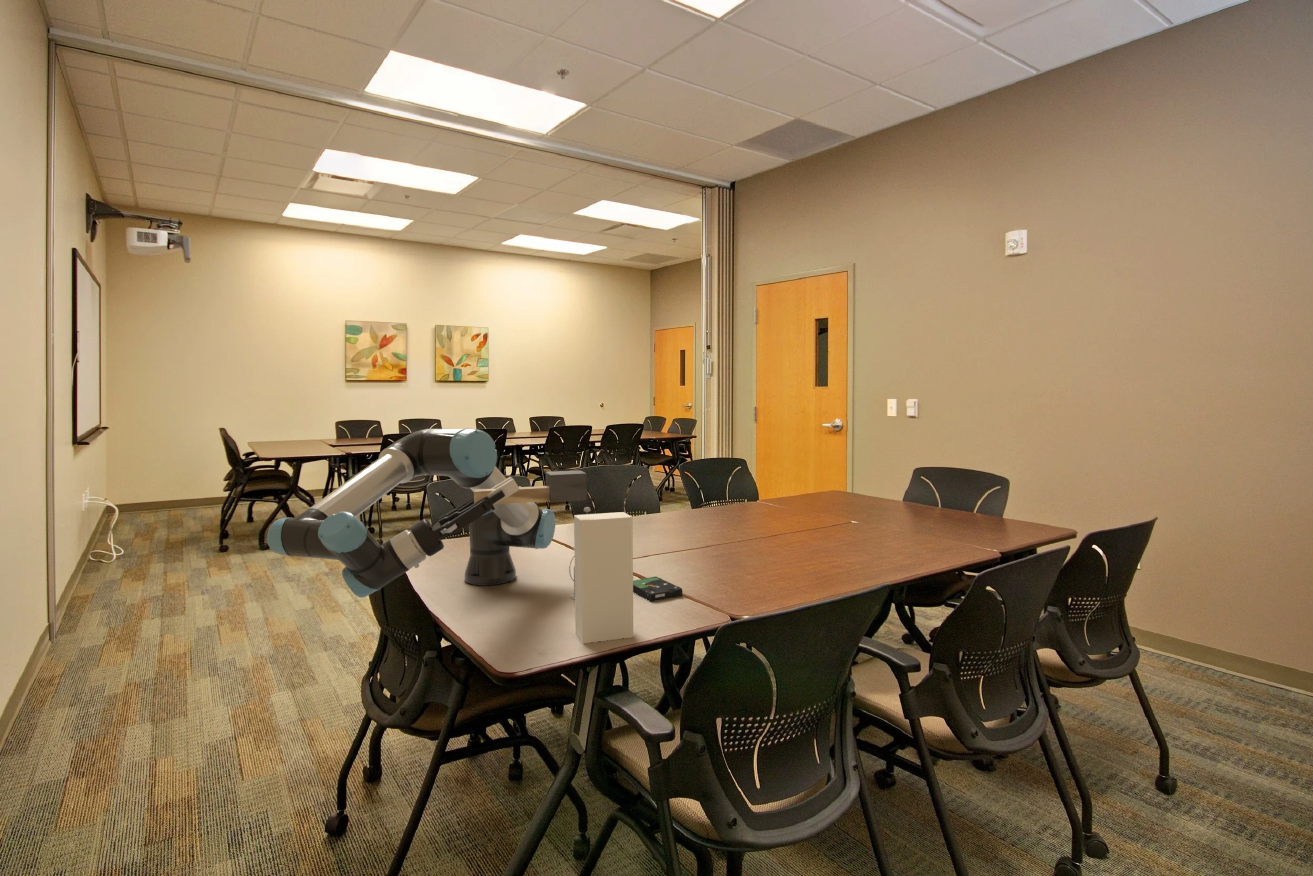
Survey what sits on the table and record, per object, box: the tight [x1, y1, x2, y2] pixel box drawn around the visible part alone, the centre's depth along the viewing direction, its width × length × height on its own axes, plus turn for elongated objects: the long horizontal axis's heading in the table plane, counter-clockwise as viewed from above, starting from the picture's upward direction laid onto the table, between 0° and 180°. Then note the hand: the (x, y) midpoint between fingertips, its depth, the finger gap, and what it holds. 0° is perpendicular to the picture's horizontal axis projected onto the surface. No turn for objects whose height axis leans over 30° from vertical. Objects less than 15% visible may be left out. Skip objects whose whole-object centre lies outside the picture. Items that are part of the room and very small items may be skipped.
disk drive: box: [633, 576, 683, 603], centre depth 192 cm, size 10×3×15 cm
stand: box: [573, 511, 634, 645], centre depth 158 cm, size 7×12×28 cm, turn 109°
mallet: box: [473, 469, 588, 504], centre depth 151 cm, size 6×24×6 cm, turn 110°
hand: (515, 482), depth 149 cm, fingers closed on mallet, 3 cm apart
